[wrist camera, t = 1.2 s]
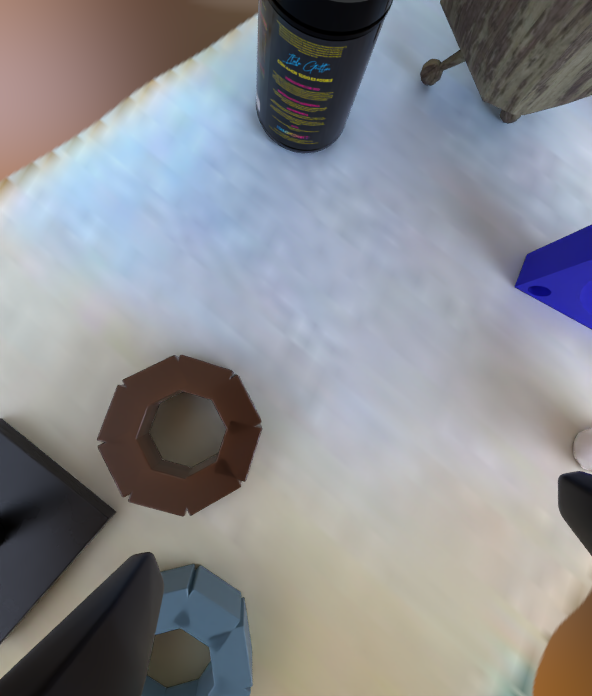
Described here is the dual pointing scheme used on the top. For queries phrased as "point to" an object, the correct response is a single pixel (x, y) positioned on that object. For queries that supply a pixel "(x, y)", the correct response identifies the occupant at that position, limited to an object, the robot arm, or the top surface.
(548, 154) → the top surface
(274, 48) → the supplement container
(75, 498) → the stand
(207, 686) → the slate ring
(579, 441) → the milkshake
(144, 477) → the walnut ring
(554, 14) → the tabletop clock
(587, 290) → the blue notched block
